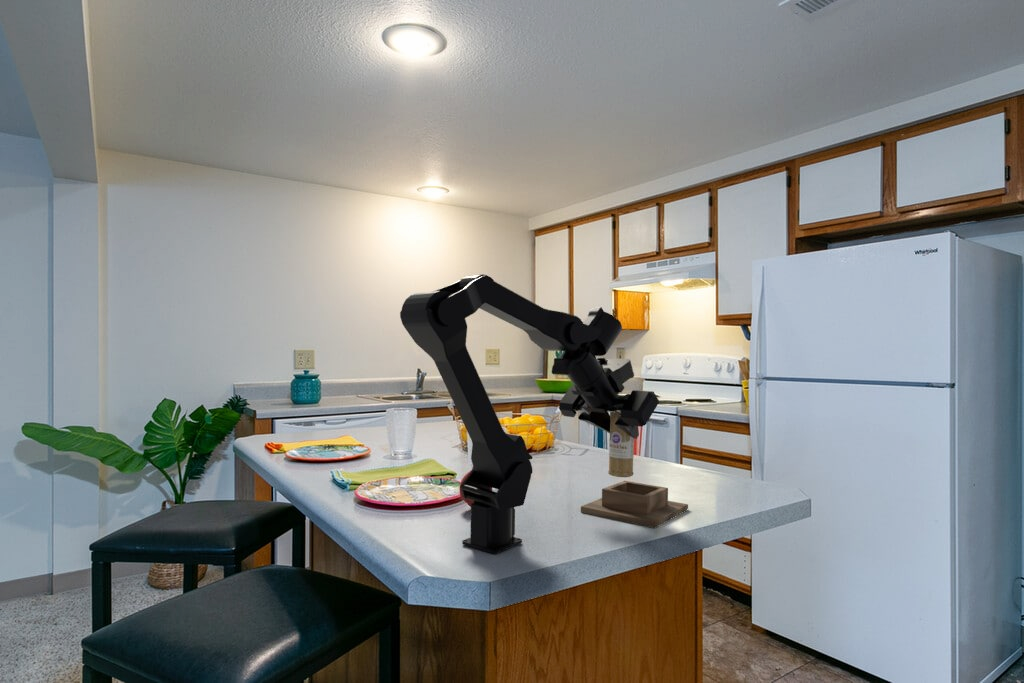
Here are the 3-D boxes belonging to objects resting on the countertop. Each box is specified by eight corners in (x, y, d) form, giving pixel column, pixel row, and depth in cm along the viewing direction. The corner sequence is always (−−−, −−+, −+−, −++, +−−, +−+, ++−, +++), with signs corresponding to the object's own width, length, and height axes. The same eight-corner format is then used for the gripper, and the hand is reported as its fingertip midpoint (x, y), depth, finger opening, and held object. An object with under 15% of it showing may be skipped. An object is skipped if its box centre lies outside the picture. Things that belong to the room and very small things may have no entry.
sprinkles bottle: (605, 476, 105) (606, 400, 105) (612, 471, 109) (613, 399, 109) (630, 479, 103) (632, 402, 103) (636, 474, 107) (638, 400, 107)
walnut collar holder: (655, 528, 95) (655, 503, 95) (580, 512, 103) (581, 489, 103) (688, 509, 106) (688, 487, 106) (618, 496, 114) (618, 476, 114)
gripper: (653, 342, 97) (689, 407, 104) (571, 342, 111) (607, 399, 118) (622, 391, 91) (662, 456, 98) (539, 384, 105) (580, 441, 112)
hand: (626, 435), depth 107 cm, fingers closed on sprinkles bottle, 4 cm apart
